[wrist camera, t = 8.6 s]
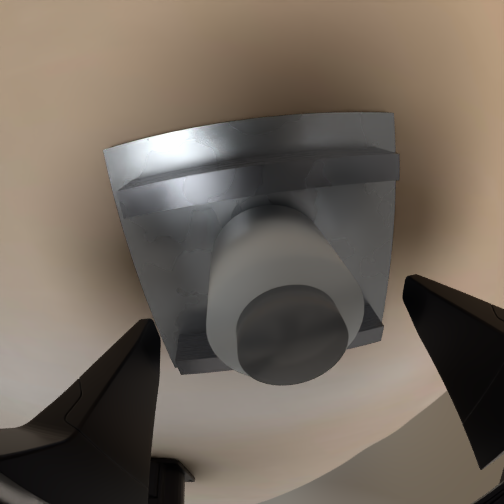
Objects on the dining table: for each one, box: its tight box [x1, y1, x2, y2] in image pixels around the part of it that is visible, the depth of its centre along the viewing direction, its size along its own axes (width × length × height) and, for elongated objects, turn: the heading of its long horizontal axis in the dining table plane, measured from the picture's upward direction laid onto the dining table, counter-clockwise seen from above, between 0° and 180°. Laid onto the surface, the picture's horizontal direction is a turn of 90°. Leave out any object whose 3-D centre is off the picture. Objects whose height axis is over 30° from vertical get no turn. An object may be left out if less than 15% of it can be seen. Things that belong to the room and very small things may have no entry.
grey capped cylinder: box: [206, 205, 364, 385], centre depth 10 cm, size 5×5×6 cm
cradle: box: [103, 112, 400, 375], centre depth 12 cm, size 12×12×2 cm
